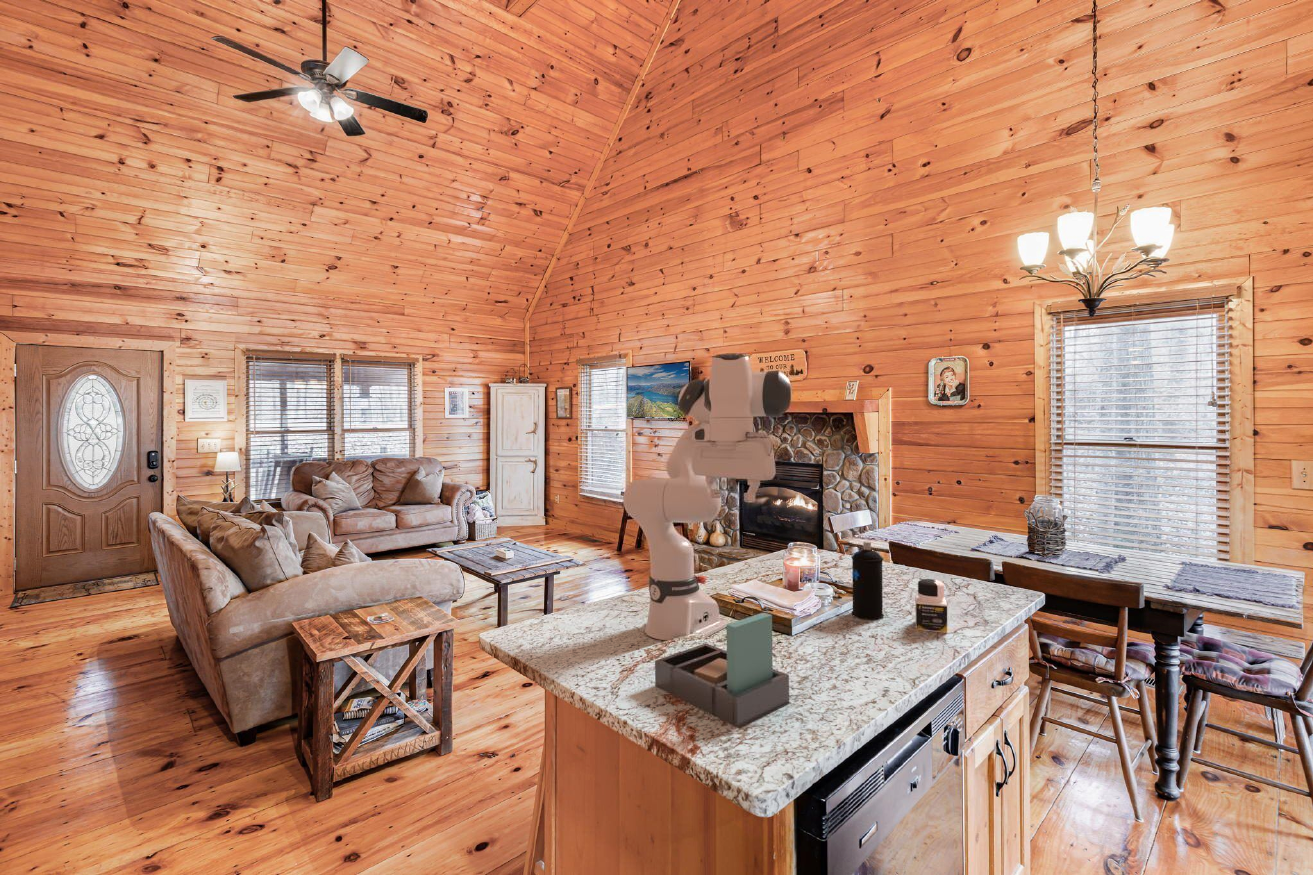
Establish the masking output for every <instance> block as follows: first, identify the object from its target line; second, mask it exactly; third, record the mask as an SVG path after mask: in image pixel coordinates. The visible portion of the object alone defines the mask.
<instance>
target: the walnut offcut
mask: <svg viewBox="0 0 1313 875" xmlns="http://www.w3.org/2000/svg"><path fill="white" fill-rule="evenodd" d="M694 675H695V676H697V677H699V678H702V679H704V680H706V681H708V682H711V683H713V684H715V685H716V684H719V683H721V682H724V681H726V680H727V660H724V659H721V658H718V659H716V660H714V661H712V662H710V663H708V664H707V665H705V666H703V667H701V668H699V669H697V670H695V671H694Z"/></svg>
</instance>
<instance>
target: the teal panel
mask: <svg viewBox="0 0 1313 875" xmlns="http://www.w3.org/2000/svg"><path fill="white" fill-rule="evenodd" d="M726 651H727V690H728V691H731V692H733V693H735V694H738V693H741V692H743V691H745V690H747V689H750V688H752V687H754V686H757V685H759V684H761V683H763V682H766V681H768V680H770V679H772V678H773V669H774V668H773V667H774V666H773V614H771V613H770V614H769V613H767V612H761V613H758V614H755V615H751V616H748V617H746V618H743V619H740V620H736V621H734V622H731V623H729V624H727V627H726Z"/></svg>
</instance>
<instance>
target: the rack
mask: <svg viewBox="0 0 1313 875" xmlns="http://www.w3.org/2000/svg"><path fill="white" fill-rule="evenodd" d="M718 658H721V659H724V660H727V650H725V649H721V648H720V647H717V646H714V645H712V644H709V643H703V644H699V645H697V646H694V647H691V648H688V649H686V650H682V651H679V652H677V653H673V654H671V655H667V656H665V657H662V658H659V659H656V660H654V678H655V684H654V685H655V686H654V687H655V688H658V689H660V690H661V691H664V692H666V693H667V694H670V695H672V696H674V697H676V698H678V699H680V700H682V701H684V702H686V703H687V704H690V705H691V706H694V707H696V708H697V709H700V710H702V711H704V712H706V713H708V714H709V715H712V716H713V717H715V718H718V719H719V720H721V721H724V722H725V723H727V724H730V725H731V726H733V727H736V728H737V729H740V730H741V729H742V728H745V727H746V726H748V725H750V724H753V723H754V722H756V721H758V720H760V719H762V718H764V717H766V716H768V715H770V714H772V713H775V712H776V711H778V710H781V709H782V708H785V707H786V706H789V705H791V704H792V702H790V675H789V674H788V673H785V672H782V671H779V670H778V669H774V668H773V678H772V679H770V680H768V681H766V682H763V683H761V684H759V685H757V686H754V687H752V688H750V689H747V690H745V691H743V692H741V693H738V694H735V693H733V692H731V691H728V690H727V680H726V681H724V682H721V683H719V684H716V685H715V684H713V683H711V682H708V681H706V680H704V679H702V678H699V677H697V676H695V675H694V671H695V670H697V669H699V668H701V667H703V666H705V665H707V664H708V663H710V662H712V661H714V660H716V659H718Z"/></svg>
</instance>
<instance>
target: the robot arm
mask: <svg viewBox="0 0 1313 875" xmlns="http://www.w3.org/2000/svg"><path fill="white" fill-rule="evenodd" d="M709 371H710V372H709V378H708V379H707V377H703V378H702V379H693V380H689V382H688V383H686V384H685V385H684V386H683V388H682V389H681V391H680V393H679V394H678V400H677V401H678V404H677V407H678V410H679V411H680V412H681V413H682V414H684V415H685V416H689V417H690V418H692V419H693V420H695V421H696V422H697V423H694V424H691V425H690V426H688V427H687V428H686V429H685V431H683V433H682V434H681V435H680V436H679V438H678V440H677V441H676V443H675V445H674V447H673V449H672V450H671V453H670V454H669V457H668V458H667V461H666V464H665V465H666V472H667V475H668V477H669V478H664V477H662V478H660V477H658V478H657V477H647V478H640V479H637V480H632V481H631V482H629V483H628V485H627V486H626V488H625V490H624V492H623V497H622V501H623V502H622V503H623V506H624V509H625V511H626V513H627V514H628V516H630V517H631V518H632V519H633V520H634V521H635V522H636V523H637V524H638V525H639V527H640V528H641V530H642V532H643V534H644V536H645V539H646V541H647V544H648V551H649V561H650V563H649V564H650V575H649V576H648V591H649V597H650V598H649V606H648V615H647V620H646V625H645V629H644V633H645V634H646V636H648V637H650V638H653V639H657V640H661V641H662V640H663V641H670V640H673V639H677V638H679V637H682V636H690V635H691V634H693V633H697V634H700V635H702V636H704V637H709V636H712V635H714V634H715V633H717V632H719V631H721V630H723V629H725V628H727V624H730V623H729V621H728V619H726V618H725V617H722V616H720V607H719V605H718V603H717V601H716V600H715V599H714V598H712V597H711V596H710V595H708V594H707V593H706V592H705V591H704V590H702V589H701V588H700V585H699V584H701V585H705V584H706V583H707V577H706V576H705V575H701V574H699V575H696V574H695V572H694V571H695V561H694V560H695V559H694V558H695V557H694V556H695V555H694V551H695V550H694V547H693V545H692V543H691V541H690V540H689V539H687V538H686V537H685V536H683V535H681V534H680V533H679V532H678V531H677V530H676V528H675V526H674V523H683V524H684V523H685V524H700V523H706V522H707V523H708V522H712V521H714V519H716V518H717V516H718V515H719V513H720V511H721V508H722V495H721V492H722V490H721V488H720V489H719V488H718V485H717V481H718V478H726V479H737V480H738V479H740V480H747V485H748V486H749V487H748V489H747V492H744V493H743V497H744V498H743V502H745V503H755V502H756V493H757V491H758V489H759V487H760V486H761V481H768V480H769V481H770V480H773V479H774V477H775V475H776V474H777V473H776V461H775V454H774V449H773V439H772V437H771V436H769V434H767V433H766V432H764V431H762V432H754V417H766V418H767V417H768V418H779V417H781V416H782V415H783V414H785V412H787V411H788V410H789V409H790V406H791V403H792V396H793V394H792V393H793V392H792V386H791V382H790V379H789V377H787V376H786V375H785V374H784V373H783V372H781V371H780V370H779V369H778V370H768V371H752V368H751V362H750V357H749V356H748V355H747V354H744V353H737V352H736V353H733V352H731V353H719V354H716V355H715V356H713V357H712V358H711V363H710V370H709Z"/></svg>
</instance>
